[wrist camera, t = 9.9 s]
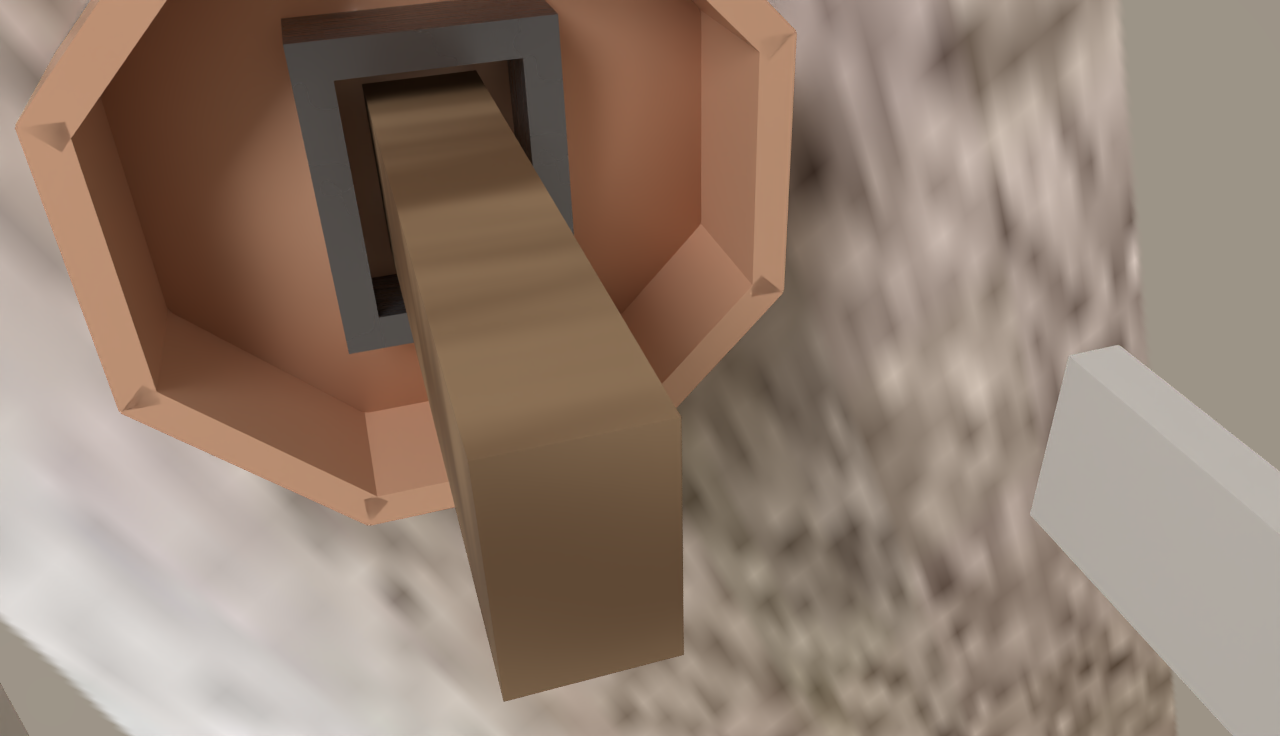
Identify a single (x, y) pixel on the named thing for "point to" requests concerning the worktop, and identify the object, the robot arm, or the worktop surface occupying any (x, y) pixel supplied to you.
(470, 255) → the wooden bar
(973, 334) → the worktop surface
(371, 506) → the orange octagonal tray
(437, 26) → the grey rectangular sleeve
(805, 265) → the worktop surface
